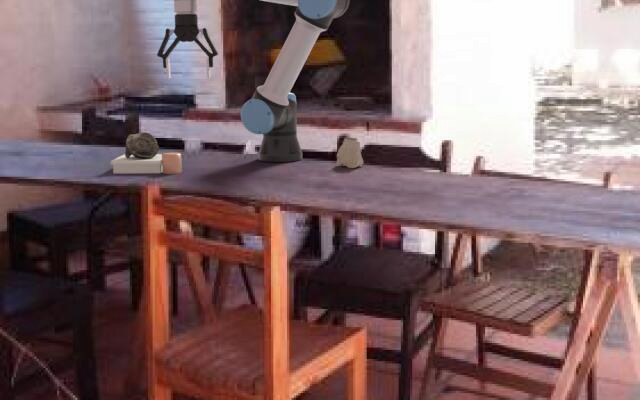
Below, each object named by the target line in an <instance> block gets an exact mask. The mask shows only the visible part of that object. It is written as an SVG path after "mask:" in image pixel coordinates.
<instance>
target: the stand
mask: <svg viewBox="0 0 640 400" xmlns="http://www.w3.org/2000/svg"><path fill="white" fill-rule="evenodd" d="M162 154H163V153H157V154H156V155H155V156H154V157H152V158H150V159H140V158H137V157H135V156H133V155H131V156H130V157H129V158H127V157H125V153H124V154H122V155H120V156H118V157H116V158H114V159H112V160H110V165H112V173H113V174H161V173H163V169H162ZM113 174H112V175H113Z"/></svg>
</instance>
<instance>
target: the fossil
mask: <svg viewBox="0 0 640 400" xmlns="http://www.w3.org/2000/svg"><path fill="white" fill-rule="evenodd" d="M159 150H160V146H159V145H158V141H157V139H156V138H155V137H154V136H153V134H151V132H146V131H145V132H143V131H142V132H139V133H136V134H134V133H133V134H129V135H128V136H127V138H126V142H125V153H124V154H125V157H127V158H129V157H130V156H131V155H133V156H135V157H137V158H140V159H150V158H152V157H154V156H155V155H156V154H159V153H158V152H159Z"/></svg>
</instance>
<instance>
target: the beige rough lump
mask: <svg viewBox="0 0 640 400" xmlns="http://www.w3.org/2000/svg"><path fill="white" fill-rule="evenodd" d="M336 159H337V160H336V165H338V166H339V167H341V166H343V167H344V166H345V167H347V168H349V169H354V168H356V169H357V167H359V168H360V167H362V166H363V164H364V159H363V157H362V152H361V141H360V139H359V138H356V137H345V138H344V140H343V141H342V144H341V145H340V147H339V149H338V151H337V154H336Z"/></svg>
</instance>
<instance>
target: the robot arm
mask: <svg viewBox="0 0 640 400" xmlns="http://www.w3.org/2000/svg"><path fill="white" fill-rule="evenodd" d="M260 1H263V2H269V3H275V4H279V5H280V4H281V5H285V6H294V7H296V9H295V11H294V16H295V22H294V24H293V26H292V28H291V30H290V32H289V34H288V36H287V37H286V40H285V41H284V44H283V46H282V47H281V50H280V52H279V54H278V55H277V57H276V60H275V61H274V64H273V65H272V67H271V69H270V71H269V73H268V76H267V78H266V80H265V82H264V84H262V85H259V86H257V88H256V89H255V91H254V93H253V95H252V97H251V98H250V99H249V100H247V101H246V102H245V103H244V104H243V105H242V107H241V110H240V119H241V123H242V125H243V126H244V128H245V129H246V130H247V131H248V132H249V133H252V134H254V135H263V136H262V141H261V144H260V147H259V151H258V160H259V161H260V162H261V161H262V162H270V163H284V162H285V163H286V162H296V161H300V160H302V159H303V150H302V148H301V145H300V142H299V139H298V131H297V129H298V128H297V125H298V123H297V121H298V120H297V117H298V116H297V104H298V103H297V102H298V101H297V96H296V95H295V93H293V92H291V90H292V88H293V87H294V84H295V82H296V80H297V79H298V77H299V75H300V73H301V71H302V70H303V67H304V66H305V63H306V61H307V59H308V58H309V55H310V54H311V51H312V50H313V48H314V46H315V44H316V42H317V40H318V38H319V36H320V35H321V33H323V32H326V31H328V29H329V27H330V25H331V23H332V22H333V19H337V18H339V17H341V16H343V15H344V13H346V11H347V10H348V8H349V5H350V0H260ZM197 3H198V1H197V0H173V10H174V11H173V12H174V13H175V14H174V29H172V28H171V29H170V28H166V29H165V34H164V38H163V40H162V42H161V45H160V47H159V49H158V52H157V54H156V56H157V57H159V58H161V59H162V65H163V66H162V67H163V69H166V79H171V78H172V77H171V59H170V58H169V56H170V55H171V53H172V52H173V51H174V50H175V48H176V47H177V46H178V44H179V43H180V42H181V43H186V42H189V43H190V42H191V43H192V42H195V44H196V45H197V46H198V47H199V48H200V49H201V51H203V52H204V54H205V55H206V56H207V57H206V58H205V59H206V78H211V68H213V67H214V57H216V56H218V55H219V52H218V50H217V48H216V47H215V44H214V42H213V41H212V39H211V37H210V35H209V31H208V28H207V27H203V28H199V23H198V22H199V21H198V15H197V13H198V4H197ZM173 34H174V35H175V36H176V38H174V40H173V41H172V43H171V44H170V46H169V47H168V49H167V50H166V51H165V49H166V47H167V45H168V43H169V40H170V38H171V36H173ZM199 34H201V35H202V36H204V39H205V41H206V43H207V45H208V47H209V48H210V50H211V51H210V50H209V49H208V48H207V46H205V44H204V43H203V42H202V41H201V40H200V38H199V37H198V35H199Z"/></svg>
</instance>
